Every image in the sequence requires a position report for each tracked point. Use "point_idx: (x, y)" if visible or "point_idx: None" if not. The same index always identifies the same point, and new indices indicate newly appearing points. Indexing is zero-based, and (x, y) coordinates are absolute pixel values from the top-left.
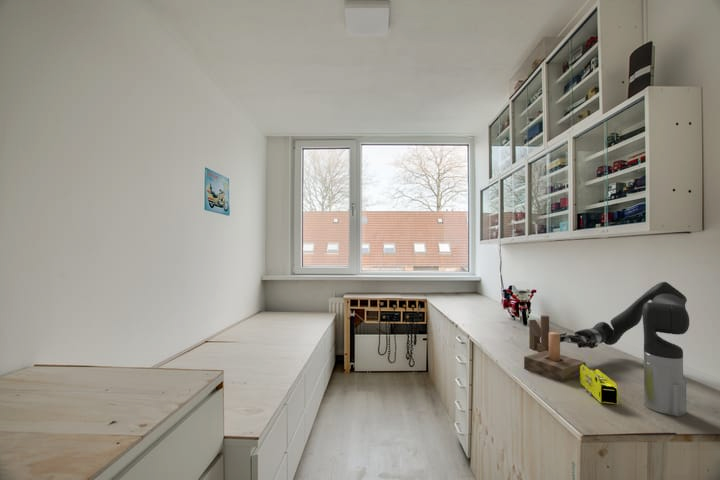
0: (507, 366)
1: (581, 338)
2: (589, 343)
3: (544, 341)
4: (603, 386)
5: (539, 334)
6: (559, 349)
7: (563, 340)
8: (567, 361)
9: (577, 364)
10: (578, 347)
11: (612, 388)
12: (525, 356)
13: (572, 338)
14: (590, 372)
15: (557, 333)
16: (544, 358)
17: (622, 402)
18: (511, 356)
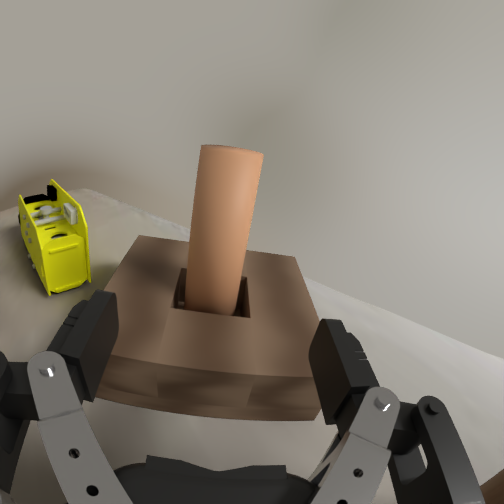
0: (316, 282)
1: (127, 495)
2: (10, 364)
3: (493, 477)
4: (43, 194)
5: None
6: (190, 232)
7: (338, 428)
8: (152, 297)
9: (104, 289)
10: (114, 334)
11: (27, 200)
12: (293, 258)
13: (271, 471)
14: (62, 192)
15: (223, 150)
16: (247, 283)
17: (7, 255)
18: (409, 355)
